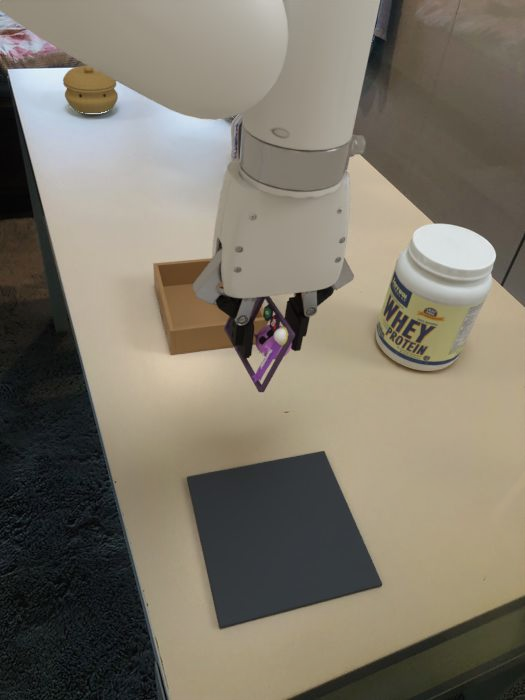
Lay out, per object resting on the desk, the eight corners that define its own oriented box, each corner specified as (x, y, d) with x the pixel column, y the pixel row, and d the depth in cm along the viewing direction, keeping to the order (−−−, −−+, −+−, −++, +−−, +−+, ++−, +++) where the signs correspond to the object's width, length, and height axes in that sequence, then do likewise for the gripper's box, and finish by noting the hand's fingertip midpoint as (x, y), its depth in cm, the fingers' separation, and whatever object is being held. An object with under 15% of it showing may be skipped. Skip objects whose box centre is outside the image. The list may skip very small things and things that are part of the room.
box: (170, 355, 74) (170, 331, 71) (154, 286, 84) (153, 263, 81) (265, 342, 77) (268, 319, 74) (238, 278, 88) (240, 255, 85)
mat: (219, 629, 49) (220, 627, 49) (186, 479, 60) (186, 476, 60) (381, 586, 53) (382, 584, 53) (323, 453, 64) (324, 450, 64)
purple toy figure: (243, 270, 50) (284, 334, 44) (289, 277, 53) (333, 337, 47) (216, 328, 54) (252, 393, 48) (261, 331, 57) (299, 393, 51)
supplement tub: (356, 340, 79) (384, 239, 68) (404, 306, 86) (438, 209, 74) (428, 388, 74) (472, 287, 62) (474, 348, 80) (521, 250, 69)
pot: (65, 102, 133) (58, 57, 126) (116, 101, 136) (112, 57, 129) (68, 121, 125) (61, 74, 118) (122, 120, 128) (118, 74, 121)
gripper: (376, 129, 44) (334, 308, 56) (164, 135, 39) (169, 329, 52) (423, 173, 39) (365, 359, 51) (186, 186, 34) (185, 387, 47)
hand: (267, 342), depth 51 cm, fingers closed on purple toy figure, 4 cm apart
